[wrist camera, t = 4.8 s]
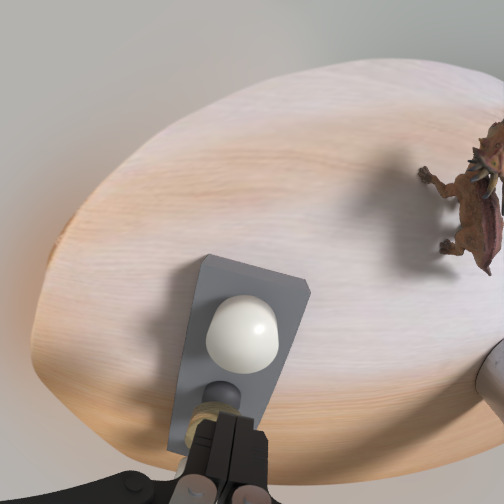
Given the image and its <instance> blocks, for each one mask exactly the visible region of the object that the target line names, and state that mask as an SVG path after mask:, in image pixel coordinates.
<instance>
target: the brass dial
mask: <svg viewBox="0 0 504 504" xmlns="http://www.w3.org/2000/svg"><path fill="white" fill-rule="evenodd" d="M219 411H223V412H228V413H232V414H236V416H237V415H241V413H240V412H239V411H238V410H237V409H236V408H234V407H232V406H230V405H228V404H225V403H221V402H205V403H202V404H200V405H198V406H197V407H195V409H194V410H193V413H192V416H191V419H190V422H189V426H188V429H187V432H186V436H185V444H186V446H187V447H188V449H189V450H190V448H191V445H192V441H193V438H194V434H195V431H196V428H197V425H198V424H199V423H200V422H201V421H202V420H203V419H208V420H212V421H216V420H217V416H218V413H219ZM241 416H242V415H241Z"/></svg>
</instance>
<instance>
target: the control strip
mask: <svg viewBox="0 0 504 504" xmlns="http://www.w3.org/2000/svg"><path fill="white" fill-rule="evenodd" d="M310 294H311V292H310V289H309V287H308V285H307V282H306V280H305V279H301V278H297V277H293V276H290V275H286V274H282V273H278V272H275V271H271V270H267V269H263V268H260V267H256V266H252V265H248V264H245V263H241V262H237V261H234V260H230V259H226V258H223V257H219V256H215V255H212V254H208V256H207V257H206V258H205V259H204V261H203V262H202V263H201V267H200V271H199V276H198V281H197V285H196V290H195V294H194V299H193V304H192V309H191V313H190V318H189V323H188V328H187V333H186V339H185V344H184V349H183V354H182V360H181V365H180V371H179V376H178V382H177V388H176V394H175V400H174V406H173V412H172V419H171V425H170V432H169V439H168V446H167V451H171V452H174V453H177V454H181V455H184V456H188V455H189V451H190V450H189V449H188V447H187V446H186V444H185V436H186V432H187V429H188V426H189V422H190V419H191V416H192V413H193V410H194V409H195V407H197V406H198V405H200V404H202V403H205V402H221V403H225V404H228V405H230V406H232V407H234V408H236V409H237V410H238V411H239V412H240V413H241V415H242V416H246V417H251V418H254V429H253V430H256V429H257V427H258V425H259V423H260V420H261V418H262V416H263V414H264V411H265V409H266V407H267V405H268V402H269V400H270V398H271V395H272V393H273V390H274V388H275V386H276V383H277V381H278V378H279V376H280V374H281V371H282V369H283V366H284V364H285V361H286V359H287V356H288V353H289V351H290V348H291V346H292V343H293V341H294V338H295V335H296V333H297V330H298V327H299V325H300V322H301V319H302V316H303V314H304V311H305V308H306V305H307V302H308V300H309V297H310ZM238 295H250V296H254V297H257V298H260V299H262V300H263V301H265V302H266V303H267V304H268V305H269V306H270V307H271V308H272V310H273V311H274V313H275V316H276V320H277V329H278V341H279V347H278V352H277V355H276V357H275V358H274V360H273V361H272V362H271V363H270V364H269V365H268V366H267V367H265V368H264V369H262V370H260V371H257V372H254V373H248V374H239V373H233V372H230V371H228V370H225V369H223V368H222V367H220V366H219V365H217V364H216V363H215V362H214V361H213V359H212V358H211V357H210V355H209V353H208V351H207V347H206V336H207V333H208V330H209V327H210V324H211V322H212V319H213V317H214V314H215V312H216V310H217V308H218V307H219V305H220V304H221V303H223V302H224V301H225V300H227V299H229V298H231V297H234V296H238Z"/></svg>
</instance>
